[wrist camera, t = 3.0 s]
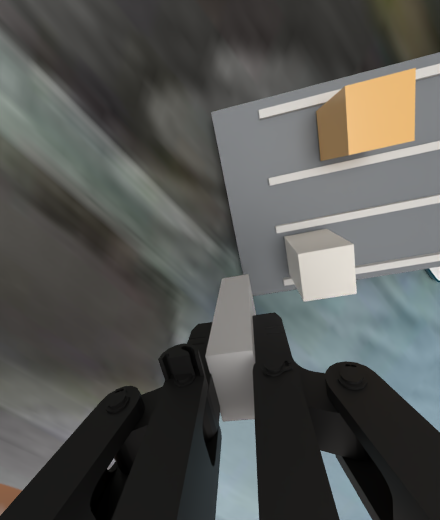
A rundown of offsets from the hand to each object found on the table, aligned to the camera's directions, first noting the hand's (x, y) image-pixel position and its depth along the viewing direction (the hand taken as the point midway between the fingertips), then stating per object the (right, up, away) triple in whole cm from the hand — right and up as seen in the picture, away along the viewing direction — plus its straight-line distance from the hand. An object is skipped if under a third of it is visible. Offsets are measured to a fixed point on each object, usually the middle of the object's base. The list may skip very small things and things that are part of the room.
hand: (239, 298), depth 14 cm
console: (+11, +8, +5) cm, 15 cm away
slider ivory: (+5, +3, +4) cm, 7 cm away
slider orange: (+7, +10, +2) cm, 12 cm away
